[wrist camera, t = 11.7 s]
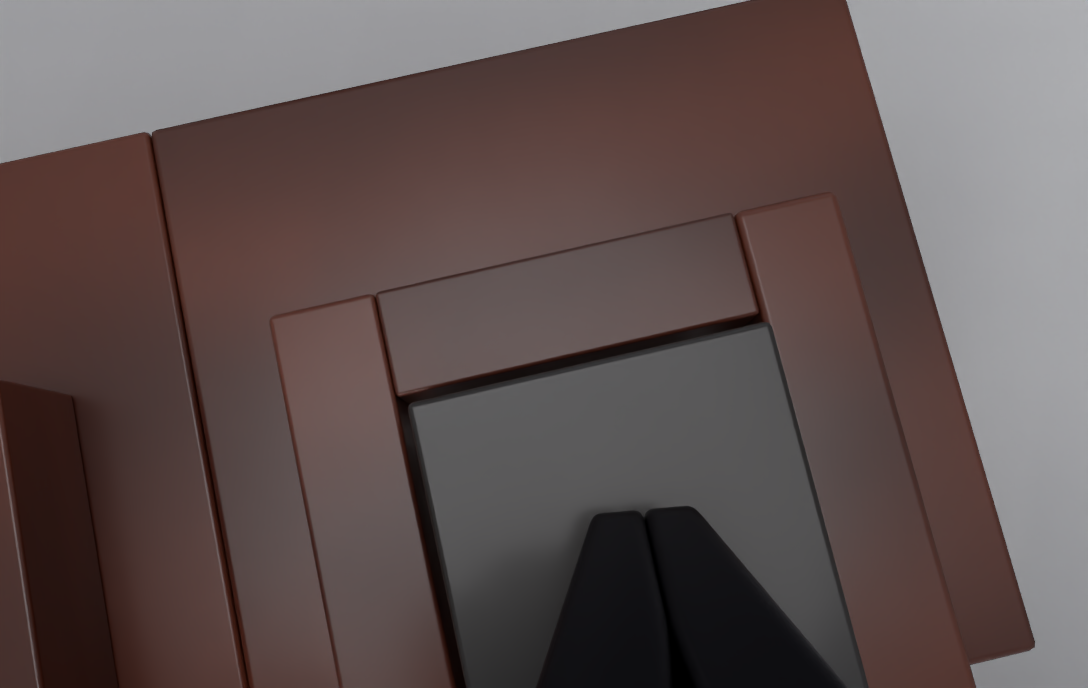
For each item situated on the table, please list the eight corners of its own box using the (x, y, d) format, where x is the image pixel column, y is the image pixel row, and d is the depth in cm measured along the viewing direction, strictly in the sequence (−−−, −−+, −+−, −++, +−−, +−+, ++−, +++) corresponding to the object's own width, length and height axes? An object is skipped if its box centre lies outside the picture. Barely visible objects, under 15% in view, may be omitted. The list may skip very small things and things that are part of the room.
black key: (821, 666, 11) (874, 699, 9) (497, 745, 11) (487, 792, 9) (738, 345, 11) (771, 319, 10) (427, 417, 11) (406, 402, 10)
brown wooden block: (911, 650, 17) (1147, 750, 10) (362, 782, 17) (239, 972, 10) (763, 116, 19) (887, -102, 12) (256, 229, 18) (85, 71, 12)
